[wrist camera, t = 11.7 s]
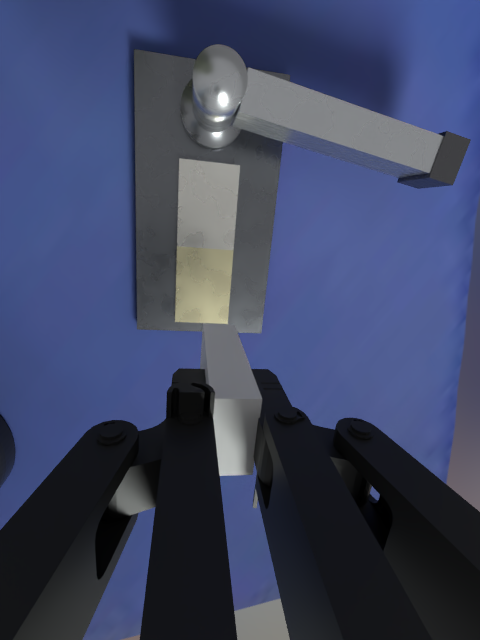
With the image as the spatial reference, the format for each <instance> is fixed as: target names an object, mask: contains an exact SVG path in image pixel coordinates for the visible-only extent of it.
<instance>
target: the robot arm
mask: <svg viewBox="0 0 480 640" xmlns="http://www.w3.org/2000/svg"><path fill="white" fill-rule="evenodd" d="M14 460H15V444H14V440H13V436H12V434H11V431H10V430H9V428H8V426H7V424H6V423H5V421H4V420H3V419H2V417H1V416H0V487H1V486H2V484H3V483H4V482H5V480H6V479H7V477H8V476H9V474H10V472H11V470H12V468H13V465H14ZM254 461H255V465H256V469H257V476H256V484H255V491H254V498H253V508H257V501H259V505H260V509H261V514H262V518H263V523H264V527H265V531H266V536H267V540H268V545H269V549H270V554H271V558H272V562H273V567H274V571H275V576H276V580H277V584H278V589H279V593H280V598H281V602H282V606H283V611H284V615H285V620H286V624H287V628H288V633H289V637H290V640H480V512H479V511H478V510H477V509H475V508H474V507H473V506H472V505H470V504H469V503H468V502H467V501H466V500H464V499H463V498H462V497H461V496H460V495H458V494H457V493H456V492H455V491H454V490H452V489H451V488H450V487H449V486H447V485H446V484H445V483H444V482H443V481H441V480H440V479H439V478H438V477H437V476H435V475H434V474H433V473H432V472H430V471H429V470H428V469H427V468H426V467H424V466H423V465H422V464H421V463H420V462H418V461H417V460H416V459H415V458H413V457H412V456H411V455H410V454H409V453H407V452H406V451H405V450H404V449H403V448H401V447H400V446H399V445H398V444H396V443H395V442H394V441H393V440H392V439H390V438H389V437H388V436H387V435H386V434H384V433H383V432H382V431H381V430H379V429H378V428H377V427H375V426H374V425H372V424H371V423H369V422H366V421H364V420H362V419H357V418H344V419H341V420H339V421H338V423H337V424H336V428H335V430H333V429H328V428H323V427H319V426H315V425H312V424H311V422H310V420H309V418H308V417H307V416H306V414H305V413H304V412H302V411H301V410H299V409H297V408H295V407H292V405H291V403H290V402H289V400H288V398H287V396H286V394H285V392H284V390H283V388H282V386H281V384H280V382H279V380H278V378H277V376H276V375H275V374H273V373H272V372H271V371H269V370H268V369H251V367H250V365H249V362H248V359H247V357H246V354H245V351H244V349H243V346H242V343H241V341H240V338H239V335H238V333H237V330H236V327H235V325H234V324H211V323H203V332H202V348H201V364H200V369H178V370H177V371H176V372H175V373H174V374H173V377H172V386H171V387H169V389H168V391H167V408H166V419H165V420H164V421H163V422H162V423H161V424H159V425H157V426H155V427H153V428H150V429H146V430H142V431H138V430H137V427H136V426H135V425H133V424H132V423H130V422H127V421H123V420H111V421H106V422H102V423H100V424H98V425H95V426H93V427H92V428H91V429H90V430H88V431H87V432H86V433H85V434H84V435H83V436H82V438H81V439H80V440H79V441H78V442H77V443H76V444H75V446H74V447H73V448H72V449H71V450H70V451H69V452H68V454H67V455H66V456H65V457H64V458H63V459H62V460H61V462H60V463H59V464H58V465H57V466H56V467H55V468H54V470H53V471H52V472H51V473H50V474H49V475H48V476H47V478H46V479H45V480H44V481H43V482H42V483H41V484H40V486H39V487H38V488H37V489H36V490H35V491H34V492H33V494H32V495H31V496H30V497H29V498H28V499H27V500H26V502H25V503H24V504H23V505H22V506H21V507H20V508H19V510H18V511H17V512H16V513H15V514H14V515H13V516H12V518H11V519H10V520H9V521H8V522H7V523H6V524H5V526H4V527H3V528H2V529H1V530H0V640H82V639H83V637H84V635H85V633H86V631H87V628H88V626H89V624H90V622H91V619H92V617H93V615H94V613H95V611H96V608H97V606H98V604H99V602H100V600H101V597H102V595H103V593H104V591H105V589H106V586H107V584H108V582H109V580H110V578H111V575H112V573H113V571H114V569H115V566H116V564H117V562H118V560H119V558H120V555H121V553H122V551H123V549H124V547H125V544H126V542H127V540H128V538H129V536H130V533H131V531H132V529H133V527H134V525H135V522H136V520H137V517H138V513H139V512H142V511H145V510H148V509H151V508H154V507H156V508H155V517H154V525H153V533H152V542H151V550H150V559H149V567H148V575H147V584H146V592H145V601H144V609H143V617H142V626H141V634H140V640H237V633H236V624H235V615H234V606H233V596H232V587H231V578H230V569H229V559H228V550H227V541H226V532H225V522H224V513H223V504H222V495H221V485H220V476H226V475H252V474H253V467H254ZM372 486H373V487H374V488H375V489H376V491H377V492H378V493H379V494H380V497H379V500H378V501H377V500H376V499H374V498H373V497H372V496H371V494H370V490H371V487H372Z"/></svg>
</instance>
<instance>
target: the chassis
mask: <svg viewBox="0 0 480 640" xmlns="http://www.w3.org/2000/svg"><path fill="white" fill-rule="evenodd" d="M195 61H196V59H191V58H185V57H179V56H173V55H167V54H161V53H155V52H149V51H143V50H137V49H134V96H135V182H136V269H137V329H144V330H175V331H203V323H211V324H234V325H235V327H236V330H237V332H238V333H261V330H262V321H263V312H264V303H265V294H266V286H267V277H268V268H269V259H270V250H271V241H272V233H273V224H274V215H275V206H276V197H277V188H278V179H279V171H280V162H281V153H282V144H283V142H281V141H278V140H275V139H272V138H268V137H265V136H262V135H259V134H256V133H252V132H249V131H246V130H243V129H239V128H236V127H233V126H232V125H233V121H232V122H231V124H230V125H229V127H228V128H226V129H225V130H223V131H221V132H218V133H212V132H208V131H206V130H204V129H203V128H202V127H201V126H200V125H199V124H198V123H197V121H196V120H195V118H194V115H193V109H192V93H193V67H194V64H195ZM246 70H248V68H246ZM255 70H257V69H255ZM258 71H260V72H263V73H266V74H269V75H272V76H275V77H277V78H280V79H283V80H286V81H289V82H290V75H287V74H281V73H275V72H269V71H263V70H258ZM233 120H234V118H233Z"/></svg>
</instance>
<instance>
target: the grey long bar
mask: <svg viewBox="0 0 480 640" xmlns="http://www.w3.org/2000/svg"><path fill="white" fill-rule="evenodd" d="M192 109H193V115H194V118H195V120H196V121H197V123H198V124H199V125H200V126H201V127H202V128H203V129H204V130H206V131H208V132H212V133H218V132H221V131H223V130H225V129H226V128H228V127H229V125H230V124H231V122H232V121H233V125H232V126H233V127H236V128H239V129H243V130H246V131H249V132H252V133H256V134H259V135H262V136H265V137H268V138H272V139H275V140H278V141H281V142H285V143H288V144H291V145H294V146H297V147H301V148H304V149H307V150H310V151H313V152H317V153H320V154H323V155H326V156H330V157H333V158H336V159H339V160H342V161H346V162H349V163H352V164H355V165H358V166H362V167H365V168H368V169H371V170H375V171H378V172H381V173H384V174H387V175H391V176H394V177H397V178H399V179H398V183H401V184H405V185H408V186H411V187H414V188H418V189H419V188H429V187H439V186H449V185H453V183H454V181H455V178H456V176H457V173H458V171H459V168H460V166H461V163H462V161H463V158H464V156H465V153H466V151H467V148H468V146H469V143H470V139H467V138H464V137H462V136H459V135H456V134H453V133H450V132H448V131H446V132H443V133H439V134H436V133H433V132H430V131H427V130H425V129H422V128H419V127H416V126H413V125H410V124H408V123H405V122H402V121H399V120H396V119H393V118H391V117H388V116H385V115H382V114H379V113H376V112H374V111H371V110H368V109H365V108H362V107H360V106H357V105H354V104H351V103H348V102H345V101H343V100H340V99H337V98H334V97H331V96H328V95H326V94H323V93H320V92H317V91H314V90H311V89H309V88H306V87H303V86H300V85H297V84H294V83H292V82H289V81H286V80H283V79H280V78H277V77H275V76H272V75H269V74H266V73H263V72H260V71H258V70H255V69H252V68H249V67H248V70H246V66H245V64H244V62H243V60H242V58H241V57H240V55H239V54H238V53H237V52H236V51H235V50H233V49H232V48H230V47H228V46H225V45H220V44H216V45H211V46H209V47H207V48H205V49H204V50H203V51H202V52H201V53H200V54H199V55H198V57H197V59H196V61H195V64H194V67H193V93H192ZM233 118H234V120H233Z"/></svg>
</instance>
